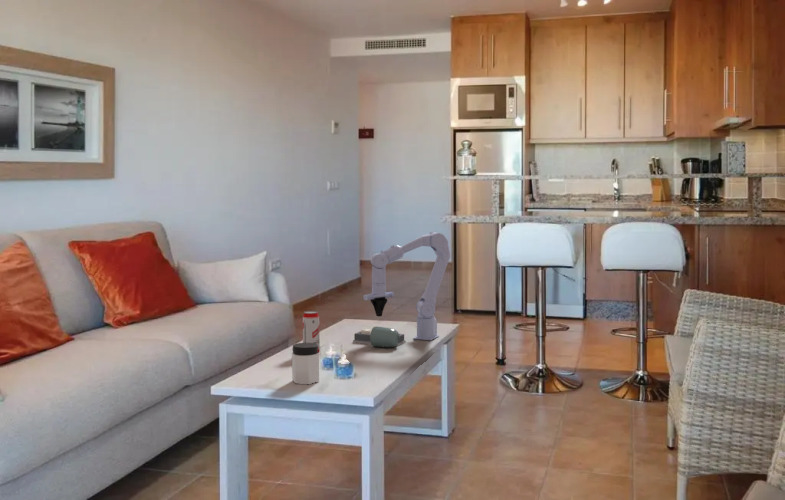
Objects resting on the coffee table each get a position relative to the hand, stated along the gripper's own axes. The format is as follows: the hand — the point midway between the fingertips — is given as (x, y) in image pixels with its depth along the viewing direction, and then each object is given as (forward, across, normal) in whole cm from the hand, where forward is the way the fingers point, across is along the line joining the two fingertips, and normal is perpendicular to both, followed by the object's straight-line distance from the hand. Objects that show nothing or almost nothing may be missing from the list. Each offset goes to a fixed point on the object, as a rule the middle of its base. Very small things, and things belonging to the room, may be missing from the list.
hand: (379, 316), depth 321 cm
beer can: (+10, +36, +4) cm, 37 cm away
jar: (+10, +60, +36) cm, 71 cm away
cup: (+6, +4, +17) cm, 19 cm away
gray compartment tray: (+10, +3, +4) cm, 11 cm away
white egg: (+8, +5, -2) cm, 10 cm away
